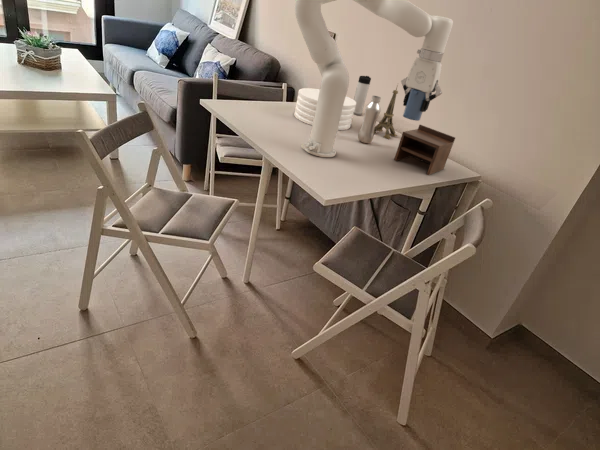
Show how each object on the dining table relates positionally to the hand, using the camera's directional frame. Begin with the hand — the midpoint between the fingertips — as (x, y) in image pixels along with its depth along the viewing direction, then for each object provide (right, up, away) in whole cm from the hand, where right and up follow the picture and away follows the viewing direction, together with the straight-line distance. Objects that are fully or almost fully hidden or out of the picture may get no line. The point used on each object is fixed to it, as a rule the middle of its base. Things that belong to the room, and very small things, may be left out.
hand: (414, 108), depth 151 cm
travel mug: (-11, +19, +79) cm, 82 cm away
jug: (-1, -3, +2) cm, 4 cm away
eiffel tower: (-1, +2, +52) cm, 52 cm away
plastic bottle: (-13, -6, +34) cm, 37 cm away
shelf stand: (+7, -18, +21) cm, 28 cm away
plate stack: (-30, +9, +53) cm, 62 cm away
